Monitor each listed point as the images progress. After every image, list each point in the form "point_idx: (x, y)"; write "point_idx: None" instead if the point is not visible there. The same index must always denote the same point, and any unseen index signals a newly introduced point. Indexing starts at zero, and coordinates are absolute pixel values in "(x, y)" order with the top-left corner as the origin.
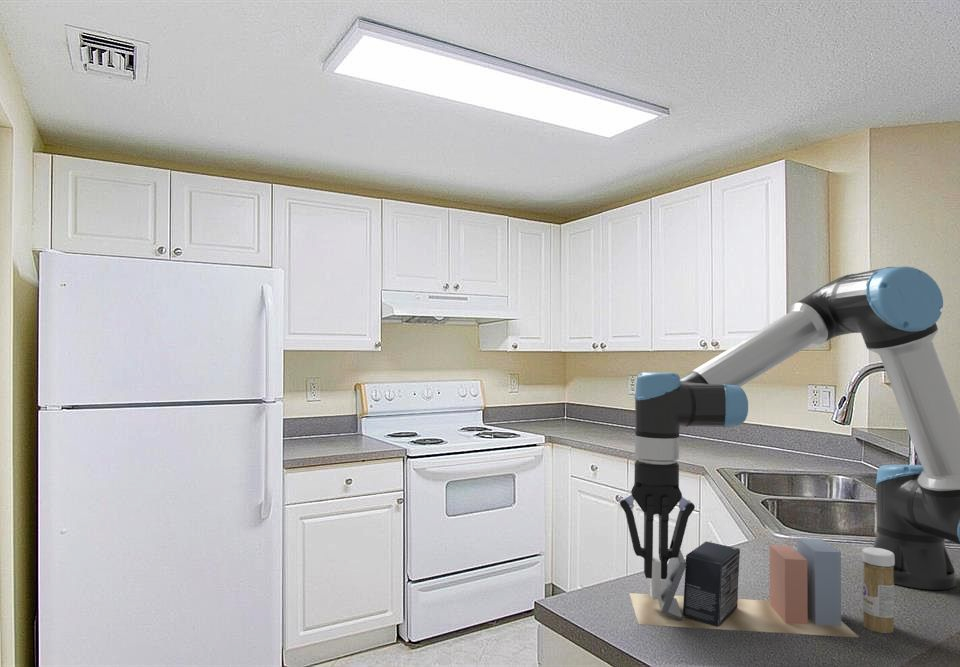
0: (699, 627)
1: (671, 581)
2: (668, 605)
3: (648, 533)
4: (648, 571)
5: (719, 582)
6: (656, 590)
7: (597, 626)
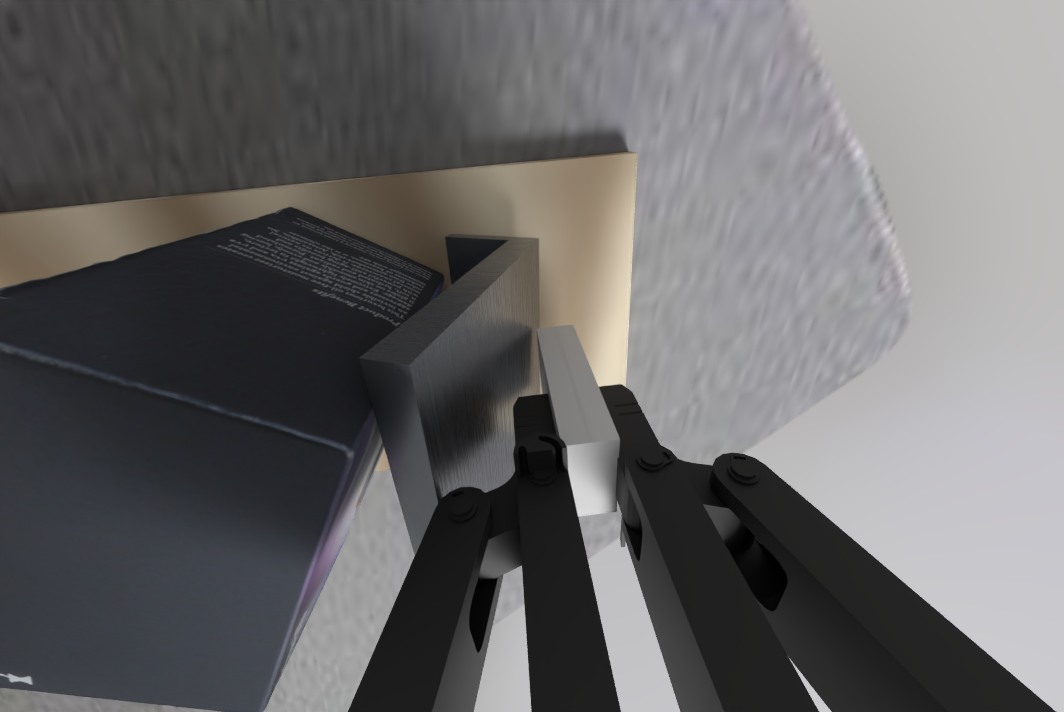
0: (372, 183)
1: (493, 326)
2: (507, 248)
3: (759, 665)
4: (619, 406)
5: (118, 264)
6: (560, 346)
7: (788, 155)
